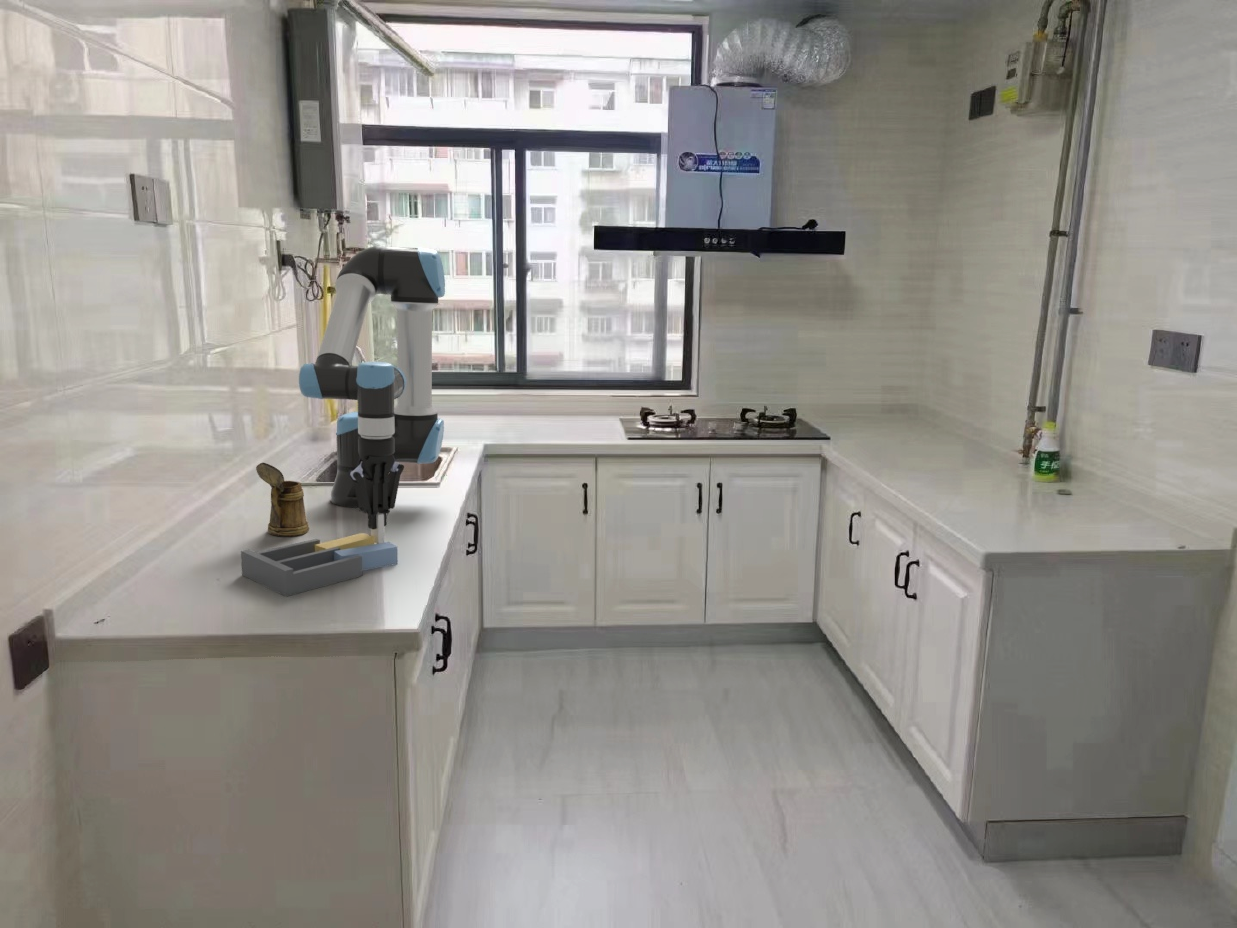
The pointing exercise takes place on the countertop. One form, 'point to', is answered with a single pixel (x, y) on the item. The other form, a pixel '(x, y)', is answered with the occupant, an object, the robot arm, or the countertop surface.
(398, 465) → the robot arm
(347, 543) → the bar ochre
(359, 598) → the countertop surface
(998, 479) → the countertop surface
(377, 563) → the bar blue
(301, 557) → the comb rack
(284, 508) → the wooden mug
